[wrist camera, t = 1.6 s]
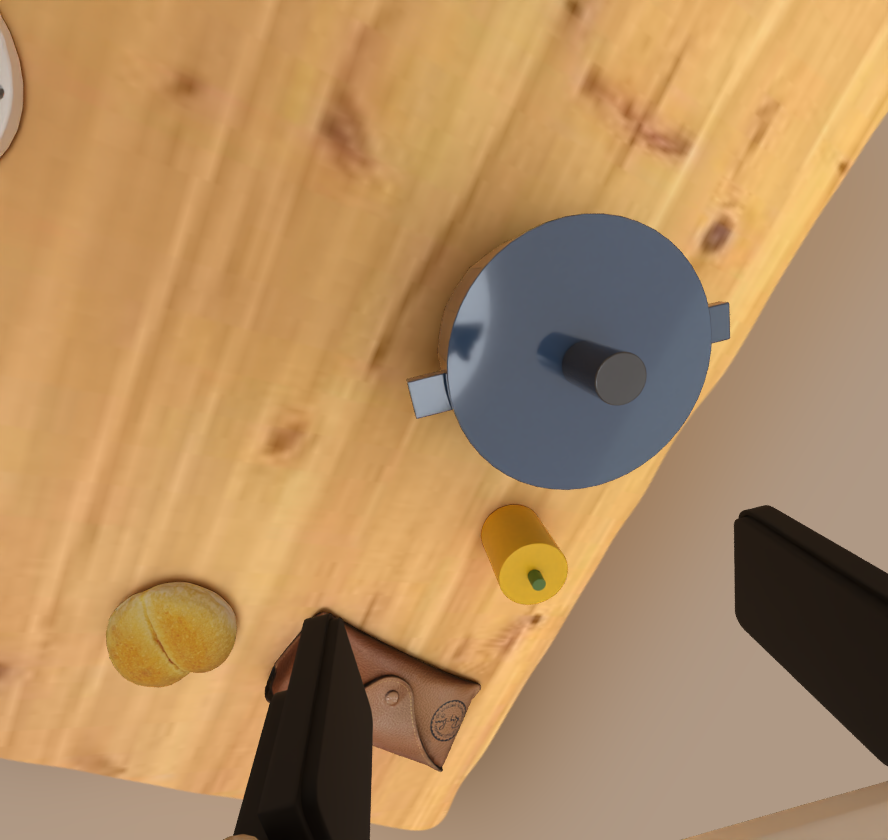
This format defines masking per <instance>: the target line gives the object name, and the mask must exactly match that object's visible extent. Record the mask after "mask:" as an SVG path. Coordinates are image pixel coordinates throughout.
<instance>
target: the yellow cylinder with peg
mask: <svg viewBox="0 0 888 840" xmlns="http://www.w3.org/2000/svg"><path fill="white" fill-rule="evenodd" d="M481 539H482V543H483V546H484V548H485V551H486V553H487V556H488V558H489V561H490V563H491V566H492V568H493V571H494V573H495V576H496V578H497V580H498V583H499V585H500V588H501V590H502V592H503V593H504V595H505V596H506V597H507V598H509V599H510V600H512V601H514V602H516V603H519V604H525V605H531V604H537V603H541V602H544V601H546V600H548V599H549V598H551V597H552V596H554V595H555V594H556V593H557V592H558V591H559V590H560V589H561V587H562V586H563V584H564V582H565V580H566V577H567V573H568V565H567V561H566V558H565V556H564V555H563V553H562V552H561V550H560V549H559V547H558V546H557V544H556V543H555V541H554V540H553V539H552V537H551V536H550V534H549V533H548V531H547V530H546V528H545V527H544V525H543V524H542V522H541V521H540V519H539V518H538V516H537V515H536V514H535V513H534V512H533V511H532V510H531V509H529V508H527V507H525V506H522V505H507V506H504V507H501V508H499V509H497V510H496V511H494V512H493V513H492V514H491V515H490V516H489V517H488V518H487V519H486V521H485V523H484V525H483V527H482V532H481Z"/></svg>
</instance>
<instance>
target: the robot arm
mask: <svg viewBox="0 0 888 840" xmlns="http://www.w3.org/2000/svg"><path fill="white" fill-rule="evenodd" d="M3 93H4V96H3ZM22 109H23V79H22V73H21V67H20V61H19V57H18V54H17V51H16V48H15V45H14V42H13V39H12V36H11V34H10V31H9V30H8V28H7V26H6V24H5V22H4V20H3V18H2V16H1V14H0V157H1V156H2V155H3V153H4V152H5V151H6V150H7V149H8V148H9V146H10V144H11V142H12V140H13V138H14V136H15V134H16V132H17V130H18V126H19V122H20V118H21V113H22ZM734 563H735V614H736V617H737V619H738V622H739V623H740V625H741V626H742V627H743V629H744V630H745V631H746V632H747V633H749V634H750V636H751V637H753V638H754V639H755V640H756V641H757V642H758V643H759V644H760V645H761V646H762V647H763V648H764V649H765V650H766V651H767V652H768V653H769V654H770V655H771V656H772V657H773V658H774V659H775V660H776V661H777V662H778V663H779V664H780V665H782V666H783V667H784V668H785V669H786V670H787V671H788V672H789V673H790V674H791V675H792V676H793V677H794V678H795V679H796V680H797V681H798V682H799V683H800V684H801V685H802V686H803V687H804V688H805V689H806V690H807V691H808V692H809V693H810V694H811V695H813V696H814V697H815V698H816V699H817V700H818V701H819V702H820V703H821V704H822V705H823V706H824V707H825V708H826V709H827V710H828V711H829V712H830V713H831V714H832V715H833V716H834V717H835V718H836V719H838V721H839V722H840V723H842V724H843V725H844V726H845V727H846V728H847V729H848V730H849V731H850V732H851V733H852V734H853V735H854V736H855V737H856V738H857V739H858V740H859V741H860V742H861V743H862V744H863V745H865V747H866V748H867V749H868V750H869V751H870V752H872V753H873V754H874V755H875V756H876V757H877V758H878V759H879V760H880V761H881V762H882V763H883V764H885V765H887V766H888V574H887V573H886V572H884V571H882V570H881V569H879V568H877V567H875V566H874V565H872V564H870V563H869V562H867V561H865V560H863V559H862V558H860V557H858V556H857V555H855V554H853V553H851V552H850V551H848V550H846V549H844V548H843V547H841V546H839V545H837V544H836V543H834V542H832V541H831V540H829V539H827V538H825V537H824V536H822V535H820V534H818V533H817V532H815V531H813V530H812V529H810V528H808V527H806V526H805V525H803V524H801V523H800V522H798V521H796V520H794V519H793V518H791V517H789V516H787V515H786V514H784V513H782V512H781V511H779V510H777V509H775V508H773V507H771V506H767V505H765V506H760V507H756V508H752V509H748V510H744V511H742V512H741V513H740V515H739V519H737V520H735V522H734ZM372 743H373V718H372V711H371V707H370V703H369V700H368V697H367V694H366V691H365V688H364V685H363V682H362V679H361V675H360V672H359V669H358V666H357V663H356V660H355V657H354V654H353V651H352V647H351V644H350V641H349V638H348V635H347V632H346V629H345V626H344V623H343V620H342V618H336V619H334V617H333V615H332V614H331V613H328V614H324V615H320V616H316V617H312V618H308V619H305V620H304V623H303V627H302V631H301V635H300V639H299V643H298V648H297V652H296V656H295V660H294V664H293V668H292V672H291V676H290V681H289V685H288V689H287V690H285V691H281V692H277V693H275V694H274V695H273V697H272V699H271V702H270V704H269V708H268V712H267V715H266V719H265V722H264V726H263V730H262V733H261V737H260V740H259V744H258V748H257V751H256V755H255V759H254V762H253V766H252V769H251V773H250V777H249V780H248V784H247V787H246V791H245V795H244V798H243V802H242V806H241V809H240V813H239V816H238V820H237V824H236V828H235V831H234V834H233V836H230V837H227V838H226V839H223V840H370V811H371V777H372ZM682 840H888V781H886V782H883V783H879V784H876V785H872V786H869V787H865V788H861V789H858V790H855V791H851V792H847V793H844V794H840V795H836V796H833V797H830V798H826V799H822V800H819V801H815V802H812V803H808V804H804V805H801V806H797V807H794V808H791V809H787V810H783V811H780V812H776V813H773V814H769V815H766V816H762V817H759V818H756V819H752V820H748V821H745V822H741V823H738V824H735V825H731V826H727V827H724V828H721V829H717V830H713V831H710V832H707V833H703V834H700V835H696V836H693V837H689V838H686V839H682Z"/></svg>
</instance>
